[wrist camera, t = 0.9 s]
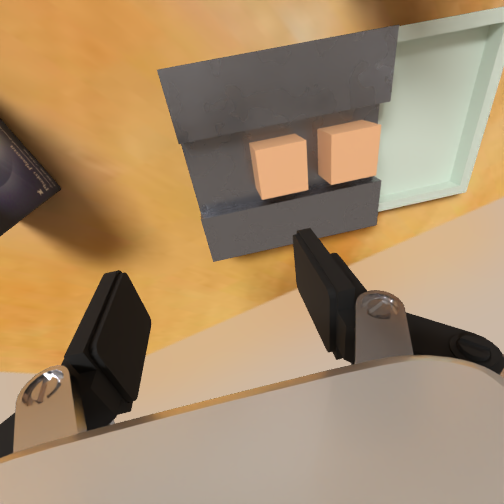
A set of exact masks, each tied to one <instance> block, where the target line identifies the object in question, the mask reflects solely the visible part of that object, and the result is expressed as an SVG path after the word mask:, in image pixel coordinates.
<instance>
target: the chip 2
mask: <svg viewBox="0 0 504 504" xmlns="http://www.w3.org/2000/svg"><path fill="white" fill-rule="evenodd" d="M380 134H381V124H377V123H373V122H369V121H365V120H358V121H353V122H348V123H344V124H339V125H334V126H329V127H324V128H319V129H317V138H318V175H319V176H321V177H322V178H323V179H324V180H326V181H327V182H328V183H329V184H331V185H334V184H338V183H343V182H348V181H352V180H357V179H361V178H366V177H371V176H375V175H376V173H377V163H378V153H379V143H380Z"/></svg>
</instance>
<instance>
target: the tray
mask: <svg viewBox="0 0 504 504" xmlns="http://www.w3.org/2000/svg"><path fill="white" fill-rule="evenodd" d="M503 67H504V7H499V8H494V9H488V10H483V11H478V12H472V13H467V14H462V15H456V16H451V17H446V18H440V19H435V20H430V21H424V22H419V23H414V24H408V25H403V26H399V31H398V40H397V48H396V57H395V66H394V75H393V84H392V92H391V101H390V102H385V103H380V105H379V116H378V124H381V134H380V143H379V153H378V163H377V173H376V175H375V177H377V178H378V179H380V180H382V181H381V189H380V198H379V207H378V212H379V211H384V210H388V209H393V208H397V207H402V206H406V205H410V204H415V203H419V202H424V201H428V200H433V199H437V198H442V197H446V196H451V195H455V194H460V193H464V192H466V191H467V187H468V184H469V181H470V177H471V174H472V171H473V167H474V164H475V161H476V157H477V154H478V151H479V147H480V144H481V141H482V137H483V134H484V131H485V127H486V124H487V120H488V117H489V114H490V110H491V107H492V104H493V100H494V97H495V94H496V90H497V87H498V84H499V80H500V77H501V74H502V70H503Z"/></svg>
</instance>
